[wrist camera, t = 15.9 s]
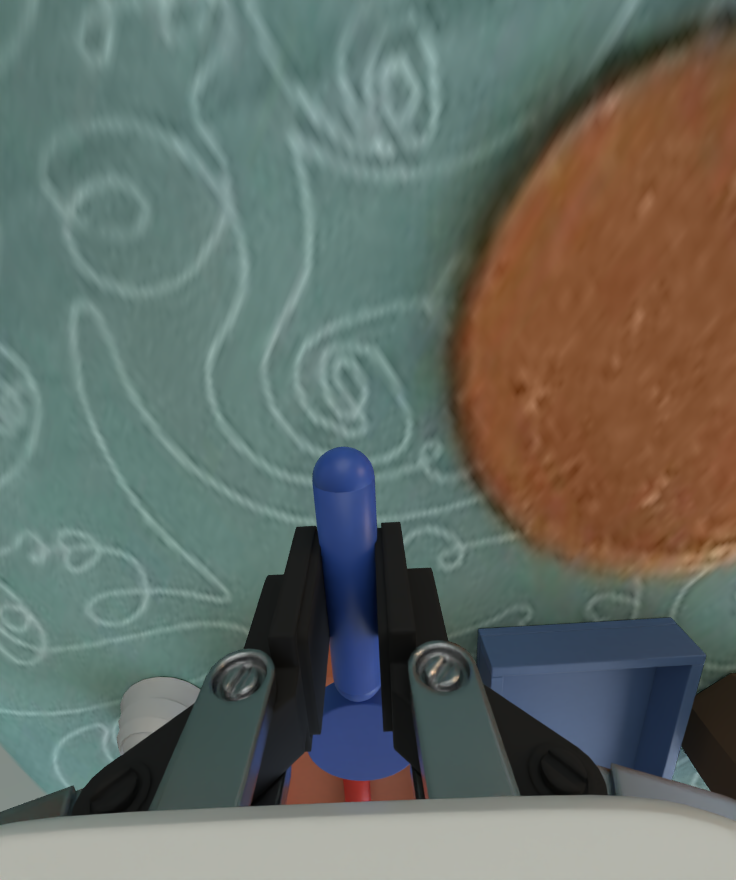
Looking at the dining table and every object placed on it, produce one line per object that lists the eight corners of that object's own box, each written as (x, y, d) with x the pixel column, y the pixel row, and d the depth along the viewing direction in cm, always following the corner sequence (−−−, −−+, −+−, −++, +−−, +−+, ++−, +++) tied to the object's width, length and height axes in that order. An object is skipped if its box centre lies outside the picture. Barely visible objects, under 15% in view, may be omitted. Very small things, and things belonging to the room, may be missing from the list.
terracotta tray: (248, 641, 23) (236, 683, 20) (443, 630, 23) (453, 670, 20) (285, 846, 29) (279, 897, 26) (440, 836, 29) (448, 886, 26)
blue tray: (477, 628, 23) (491, 668, 20) (671, 617, 23) (707, 655, 21) (468, 835, 29) (478, 884, 26) (622, 825, 29) (645, 873, 26)
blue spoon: (271, 441, 11) (258, 466, 10) (414, 434, 11) (421, 458, 10) (314, 752, 15) (309, 801, 14) (417, 748, 15) (422, 796, 14)
